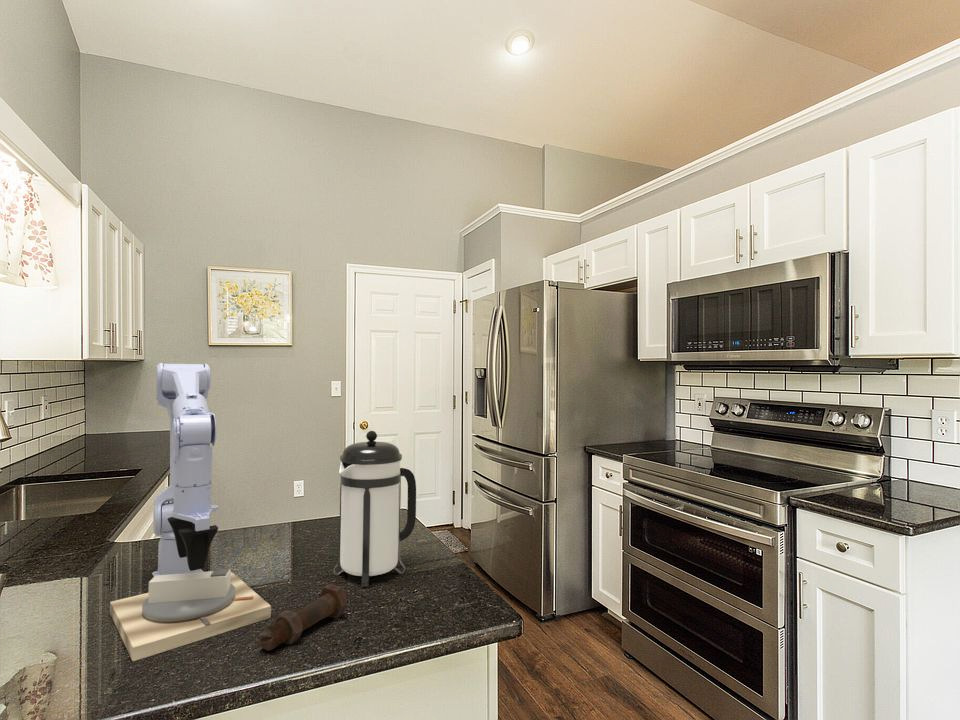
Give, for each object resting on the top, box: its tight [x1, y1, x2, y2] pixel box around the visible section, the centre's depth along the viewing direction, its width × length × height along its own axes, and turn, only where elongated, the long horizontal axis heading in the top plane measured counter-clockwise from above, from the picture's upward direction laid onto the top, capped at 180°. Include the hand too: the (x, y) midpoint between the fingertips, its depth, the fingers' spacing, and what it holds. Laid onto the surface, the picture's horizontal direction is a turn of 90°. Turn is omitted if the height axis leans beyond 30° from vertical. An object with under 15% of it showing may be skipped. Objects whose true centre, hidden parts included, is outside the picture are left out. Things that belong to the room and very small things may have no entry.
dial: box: [142, 568, 235, 622], centre depth 89 cm, size 14×14×5 cm
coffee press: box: [332, 430, 417, 588], centre depth 110 cm, size 17×16×30 cm
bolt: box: [258, 584, 348, 652], centre depth 84 cm, size 6×5×15 cm
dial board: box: [109, 571, 272, 662], centre depth 89 cm, size 20×20×2 cm
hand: (191, 562), depth 89 cm, fingers open, 7 cm apart
